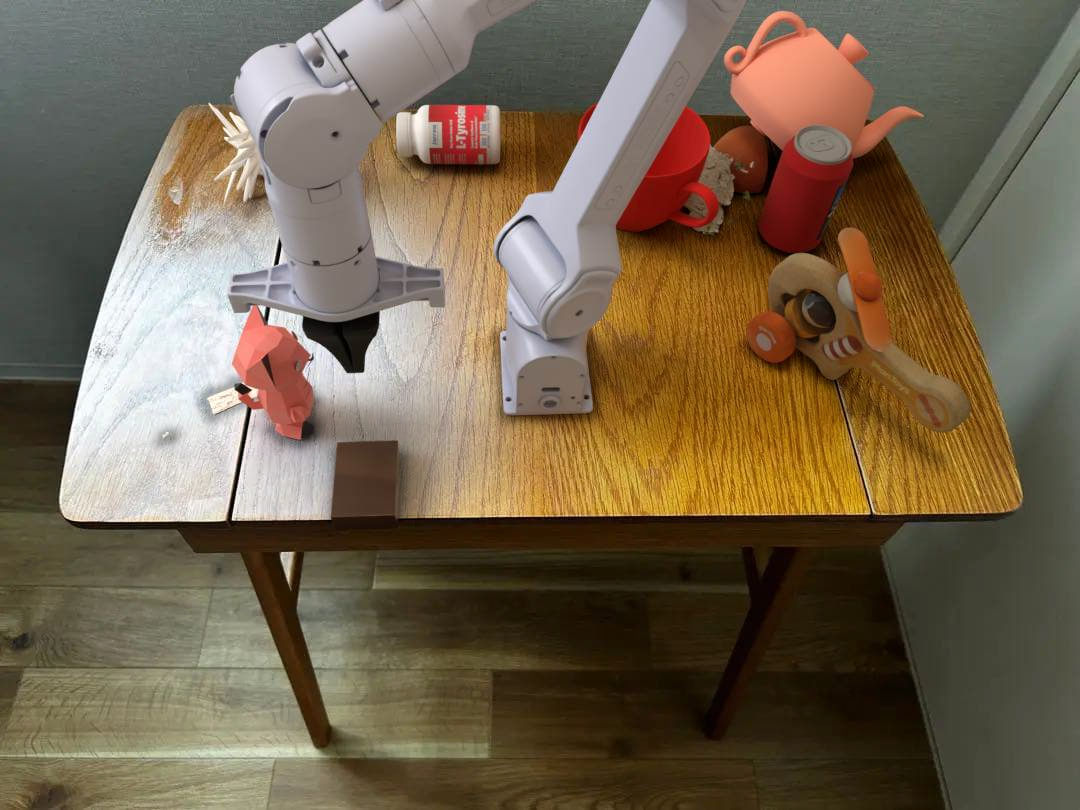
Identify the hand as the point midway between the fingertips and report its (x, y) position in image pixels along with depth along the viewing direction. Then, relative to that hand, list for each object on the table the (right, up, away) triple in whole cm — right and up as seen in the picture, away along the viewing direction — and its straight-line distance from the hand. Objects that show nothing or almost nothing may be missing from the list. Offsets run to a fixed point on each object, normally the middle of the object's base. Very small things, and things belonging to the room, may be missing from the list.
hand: (355, 362), depth 66 cm
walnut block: (0, -7, +6) cm, 9 cm away
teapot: (+40, +26, +28) cm, 56 cm away
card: (-15, -4, +9) cm, 18 cm away
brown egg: (+35, +25, +26) cm, 50 cm away
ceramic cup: (+25, +16, +25) cm, 39 cm away
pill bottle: (+10, +26, +27) cm, 39 cm away
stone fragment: (+33, +22, +23) cm, 46 cm away
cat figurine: (-8, -4, +9) cm, 13 cm away
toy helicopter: (+42, -1, +14) cm, 44 cm away
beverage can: (+41, +15, +25) cm, 50 cm away
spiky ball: (-14, +19, +25) cm, 35 cm away
